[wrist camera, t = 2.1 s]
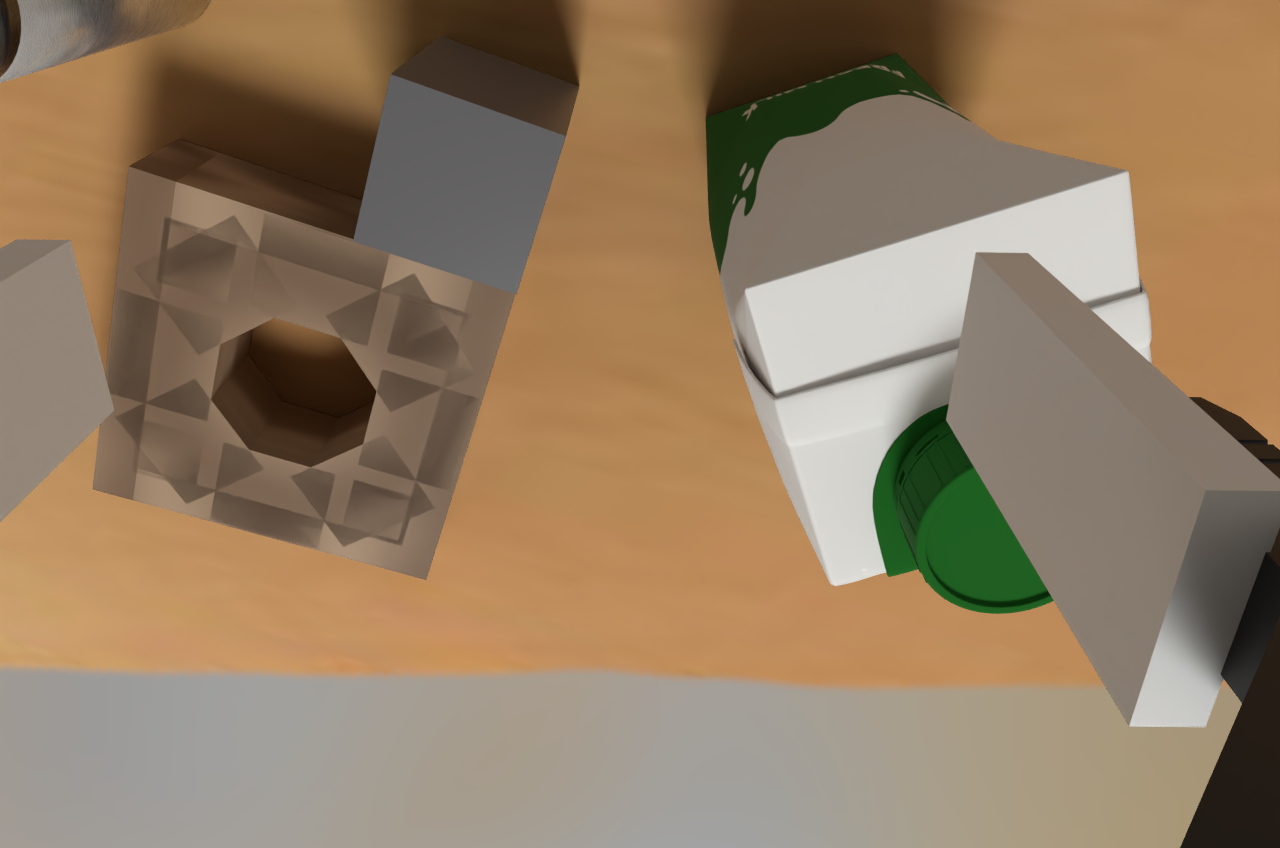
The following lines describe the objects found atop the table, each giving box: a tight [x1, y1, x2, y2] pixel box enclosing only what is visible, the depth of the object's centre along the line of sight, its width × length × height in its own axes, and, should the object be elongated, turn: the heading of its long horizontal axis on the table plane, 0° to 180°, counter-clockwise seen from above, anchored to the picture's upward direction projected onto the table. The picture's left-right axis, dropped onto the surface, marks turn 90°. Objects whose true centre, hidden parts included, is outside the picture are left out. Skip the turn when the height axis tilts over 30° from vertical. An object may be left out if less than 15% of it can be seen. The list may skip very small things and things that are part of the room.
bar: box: [353, 36, 579, 294], centre depth 32 cm, size 5×5×8 cm
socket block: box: [93, 139, 515, 580], centre depth 38 cm, size 13×13×4 cm
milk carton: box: [706, 53, 1152, 614], centre depth 28 cm, size 9×9×20 cm
